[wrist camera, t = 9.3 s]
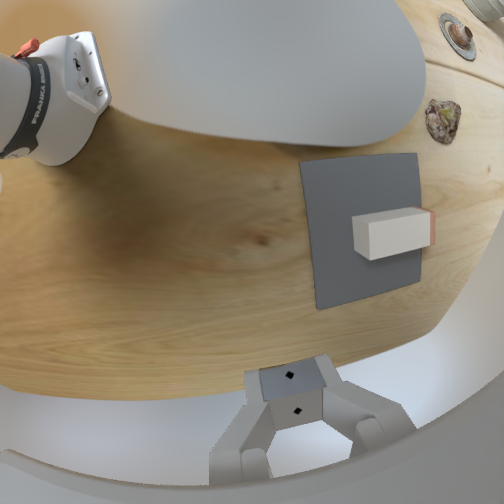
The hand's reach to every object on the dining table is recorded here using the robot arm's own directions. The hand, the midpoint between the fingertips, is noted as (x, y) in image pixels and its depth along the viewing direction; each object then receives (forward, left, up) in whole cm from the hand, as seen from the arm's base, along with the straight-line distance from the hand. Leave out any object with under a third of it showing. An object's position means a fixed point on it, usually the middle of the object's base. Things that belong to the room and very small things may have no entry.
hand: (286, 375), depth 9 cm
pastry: (-34, +51, -29) cm, 68 cm away
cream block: (+4, +16, -25) cm, 30 cm away
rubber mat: (+4, +19, -29) cm, 34 cm away
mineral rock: (-13, +37, -29) cm, 49 cm away
